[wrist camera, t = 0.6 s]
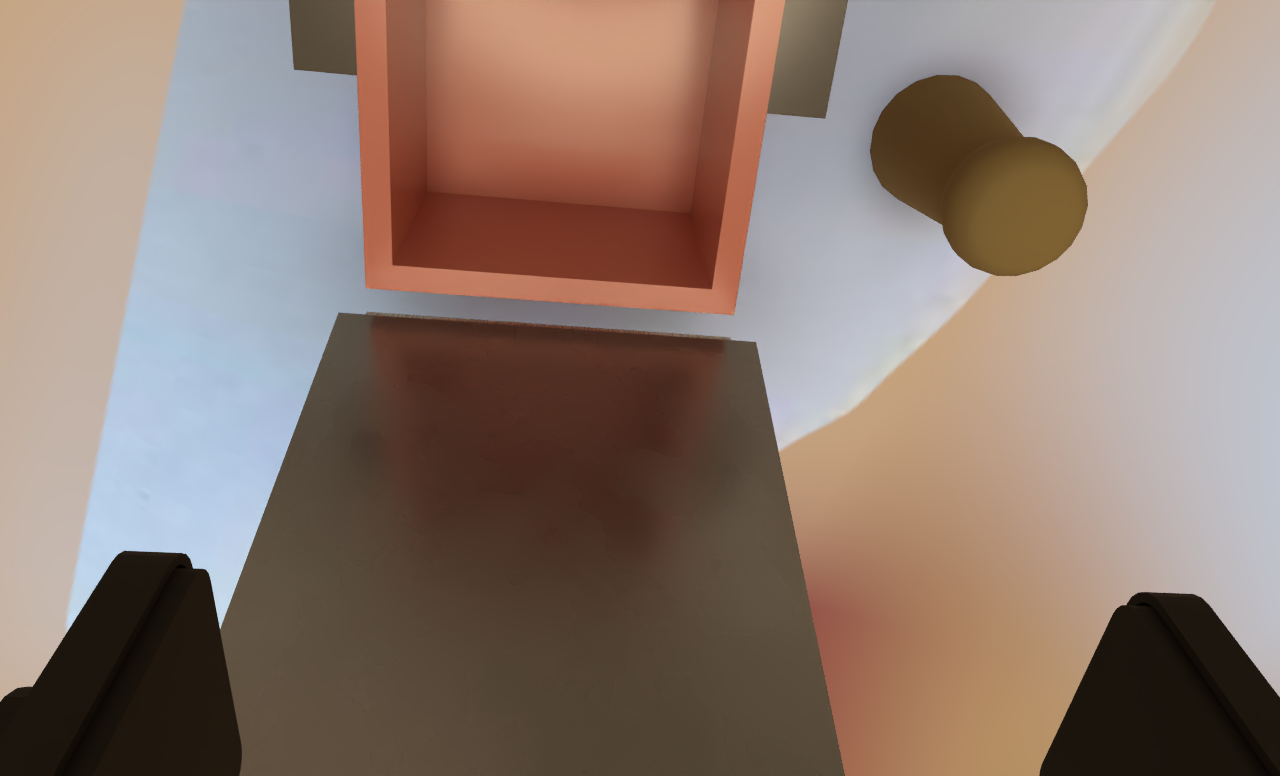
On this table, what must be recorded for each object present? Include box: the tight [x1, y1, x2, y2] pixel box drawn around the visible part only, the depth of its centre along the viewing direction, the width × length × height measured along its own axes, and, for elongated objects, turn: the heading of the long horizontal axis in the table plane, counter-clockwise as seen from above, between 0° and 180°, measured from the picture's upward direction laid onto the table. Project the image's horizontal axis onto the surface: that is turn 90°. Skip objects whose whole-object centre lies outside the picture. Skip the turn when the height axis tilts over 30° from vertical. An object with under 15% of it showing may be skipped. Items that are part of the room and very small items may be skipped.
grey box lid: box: [220, 312, 845, 776], centre depth 28 cm, size 24×16×1 cm
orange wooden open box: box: [289, 0, 848, 315], centre depth 36 cm, size 20×19×10 cm
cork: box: [870, 75, 1088, 276], centre depth 40 cm, size 6×6×11 cm
